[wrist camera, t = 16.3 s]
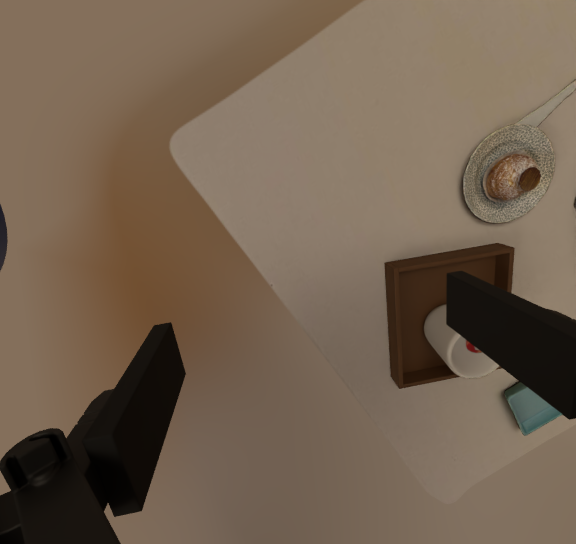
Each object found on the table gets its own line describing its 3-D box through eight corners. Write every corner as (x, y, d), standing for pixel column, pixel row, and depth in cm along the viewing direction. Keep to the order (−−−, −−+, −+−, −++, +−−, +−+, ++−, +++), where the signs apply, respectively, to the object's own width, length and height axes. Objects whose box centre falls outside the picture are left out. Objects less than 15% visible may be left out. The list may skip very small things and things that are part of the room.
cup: (437, 272, 44) (476, 292, 37) (486, 285, 46) (532, 308, 38) (407, 340, 47) (437, 373, 39) (454, 351, 48) (492, 384, 41)
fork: (484, 136, 42) (498, 136, 40) (642, 9, 38) (668, -1, 35) (495, 153, 43) (508, 154, 41) (650, 31, 39) (676, 23, 36)
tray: (390, 376, 49) (399, 389, 46) (384, 262, 44) (393, 268, 41) (491, 356, 50) (505, 367, 47) (497, 242, 45) (514, 247, 42)
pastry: (450, 145, 40) (475, 144, 35) (544, 109, 39) (580, 103, 35) (465, 234, 44) (488, 243, 40) (550, 202, 44) (583, 207, 39)
